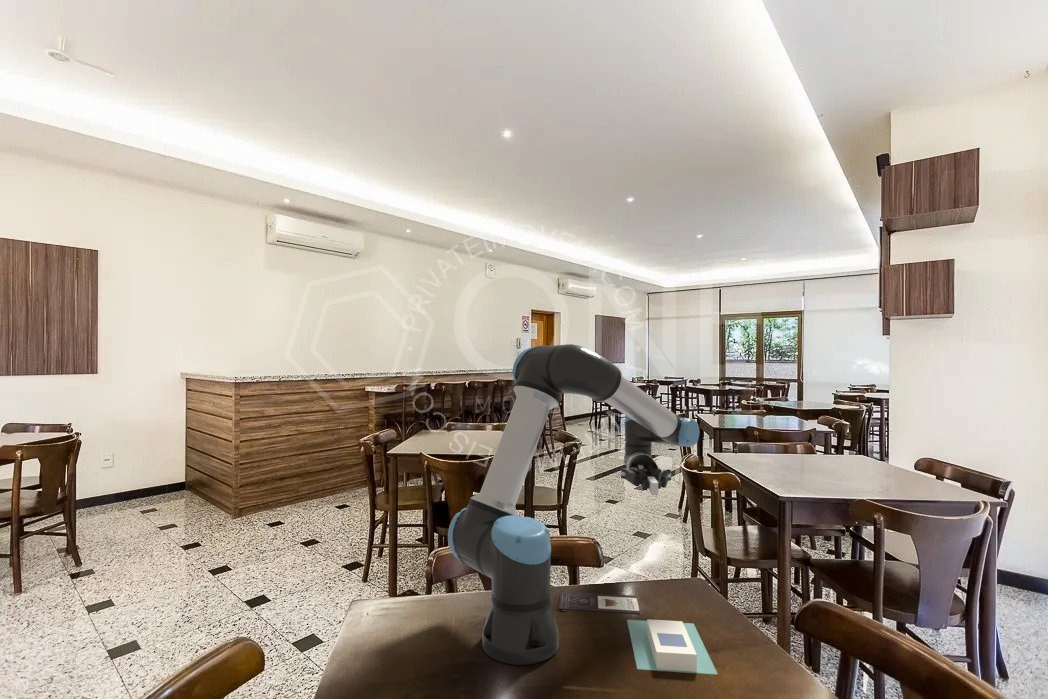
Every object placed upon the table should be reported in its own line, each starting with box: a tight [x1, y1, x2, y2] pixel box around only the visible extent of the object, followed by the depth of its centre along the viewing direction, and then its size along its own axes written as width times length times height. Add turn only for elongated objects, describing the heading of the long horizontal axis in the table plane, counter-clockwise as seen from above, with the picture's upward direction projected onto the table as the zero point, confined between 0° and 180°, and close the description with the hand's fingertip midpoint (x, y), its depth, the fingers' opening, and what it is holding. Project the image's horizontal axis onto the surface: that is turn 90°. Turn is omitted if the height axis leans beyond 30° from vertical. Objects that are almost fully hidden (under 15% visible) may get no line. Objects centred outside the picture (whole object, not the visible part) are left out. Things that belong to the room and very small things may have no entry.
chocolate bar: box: [558, 590, 641, 615], centre depth 115 cm, size 9×1×18 cm
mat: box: [626, 619, 719, 676], centre depth 97 cm, size 14×18×1 cm
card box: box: [646, 618, 697, 672], centre depth 94 cm, size 7×3×12 cm
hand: (654, 488), depth 110 cm, fingers closed
